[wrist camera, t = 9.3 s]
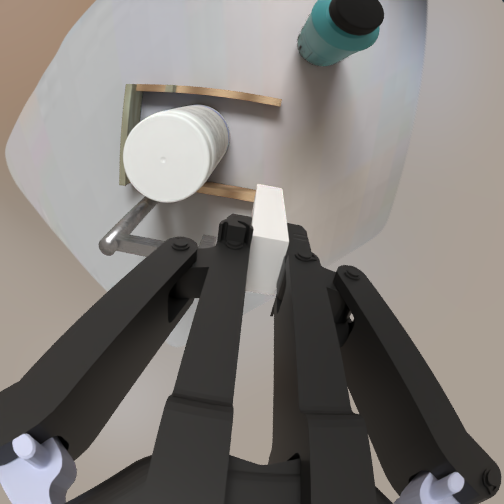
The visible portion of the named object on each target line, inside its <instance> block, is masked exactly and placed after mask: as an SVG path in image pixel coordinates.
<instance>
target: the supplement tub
mask: <svg viewBox="0 0 504 504" xmlns="http://www.w3.org/2000/svg"><path fill="white" fill-rule="evenodd" d="M229 141H230V132H229V127H228V124H227V122H226V120H225V119H224V117H223V116H222V115H221V114H220V113H219V112H218V111H216V110H215V109H213V108H211V107H208V106H204V105H191V106H185V107H179V108H174V109H170V110H165V111H161V112H158V113H155V114H153V115H151V116H149V117H147V118H146V119H144V120H142V121H141V122H139V123H138V124H137V125H136V126H135V127H134V128H133V129H132V131H131V132H130V134H129V135H128V137H127V140H126V142H125V145H124V150H123V163H124V168H125V172H126V174H127V177H128V179H129V180H130V182H131V183H132V185H133V186H134V187H135V188H136V189H137V190H138V191H139V192H140V193H141V194H143V195H144V196H146V197H147V198H149V199H152V200H154V201H158V202H164V203H171V202H177V201H181V200H184V199H186V198H188V197H190V196H191V195H193V194H194V193H195V192H196V191H197V190H199V189H200V188H201V187H202V186H203V185H204V183H205V182H206V181H207V179H208V178H209V176H210V175H211V173H212V172H213V170H214V169H215V168H216V166H217V165H218V163H219V162H220V160H221V159H222V157H223V156H224V154H225V153H226V151H227V148H228V146H229Z"/></svg>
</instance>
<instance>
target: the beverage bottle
mask: <svg viewBox="0 0 504 504" xmlns="http://www.w3.org/2000/svg"><path fill="white" fill-rule="evenodd" d="M383 19H384V11H383V8H382V5H381V4H380V2H379V1H378V0H318V1H317V2H316V3H315V5H314V7H313V9H312V12H311V14H310V16H309V18H308V20H307V21H306V23H305V26H304V28H302V29H303V30H302V29H301V31H302V32H301V34H299V36H298V39H297V40H298V43H297V44H298V46H297V47H298V50H299V51H300V54H301V55H302V56H303V57H304V58H305V60H307V61H308V62H310V64H312V65H313V64H314V65H318V66H329V65H333V64H335V63H337V62H339V61H340V60H342V59H344V58H346V57H348V56H350V55H352V54H354V53H356V52H358V51H361V50H364V49H367V48H369V47H370V46H372V45H373V44H374V43H375V41H376V40H377V38H378V35H379V26H380V25H381V23H382V21H383ZM348 58H349V57H348ZM340 62H341V61H340Z"/></svg>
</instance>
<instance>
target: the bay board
mask: <svg viewBox="0 0 504 504" xmlns="http://www.w3.org/2000/svg"><path fill="white" fill-rule="evenodd" d="M143 91H157V92H176V93H190V94H201V95H210V96H219V97H227V98H234V99H241V100H247V101H253V102H259V103H264V104H270V105H275V106H280V105H281V101H282V99H277V98H272V97H266V96H261V95H255V94H249V93H243V92H236V91H229V90H221V89H212V88H202V87H191V86H176V85H150V84H126V87H125V96H124V105H123V115H122V128H121V144H120V175H119V185H123V186H126V185H127V184H128V183H131V182H130V180H129V179H128V177H127V174H126V172H125V168H124V163H123V150H124V145H125V142H126V140H127V137H128V135H129V134H130V132H131V131H132V129H133V128H134V127H135V126H136V125H137V124H138V123H139V122H140V113H141V104H142V95H143ZM196 192H198V193H204V194H210V195H216V196H222V197H228V198H234V199H239V200H245V201H250V202H254V199H255V193H256V190H253V189H247V188H242V187H236V186H230V185H224V184H218V183H212V182H205V183H204V185H203V186H202V187H201V188H200V189H199V190H197V191H196Z"/></svg>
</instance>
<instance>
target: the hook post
mask: <svg viewBox="0 0 504 504" xmlns="http://www.w3.org/2000/svg"><path fill="white" fill-rule="evenodd" d="M157 203H158V201H154V200H152V199H149V198H147V197H146V196H145V197H144V198H143V199H142V200H141V201H140V202H139V203H138V204H137V205H135V206H134V207H133V208H132V209H131V210H130V211H129V212H128V213H127V214H126V215H125V216H124V217H123V218H122V219H121V220H120V221H119V222H118V223H117V224H116V225H115V226H114V227H113V228H112V229H111V230H110V231H109V232H108V233H107V234H106V235H105V236H104V237H103V238H102V239H101V240H100V242H99V248H100V250H101V252H102V253H103V254H105V255H107V256H111V255H113V254H114V252H115V251H121V252H126V253H131V254H135V255H140V256H145V257H147V256H149V255H150V254H151V253H152V252H153V251H154V250H156V249H157V248H158V247H159V246H160V245H162V244H163V243H164V242H165V241H161V240H156V239H150V238H145V237H140V236H134V235H129V234H130V233H131V232H132V231H133V230H134V229H135V228H136V226H137V225H138V224H139V223H140V222H141V221H142V220H143V218H144V217H145V216H146V215H147V214H148V213H149V212H150V211H151V210H152V209H153V207H154V206H155V205H156V204H157ZM215 241H216V237H214V236H208V235H203V238H202V240H201V242H200V245H199V247H198V248H210V247H213V246H215Z"/></svg>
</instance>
